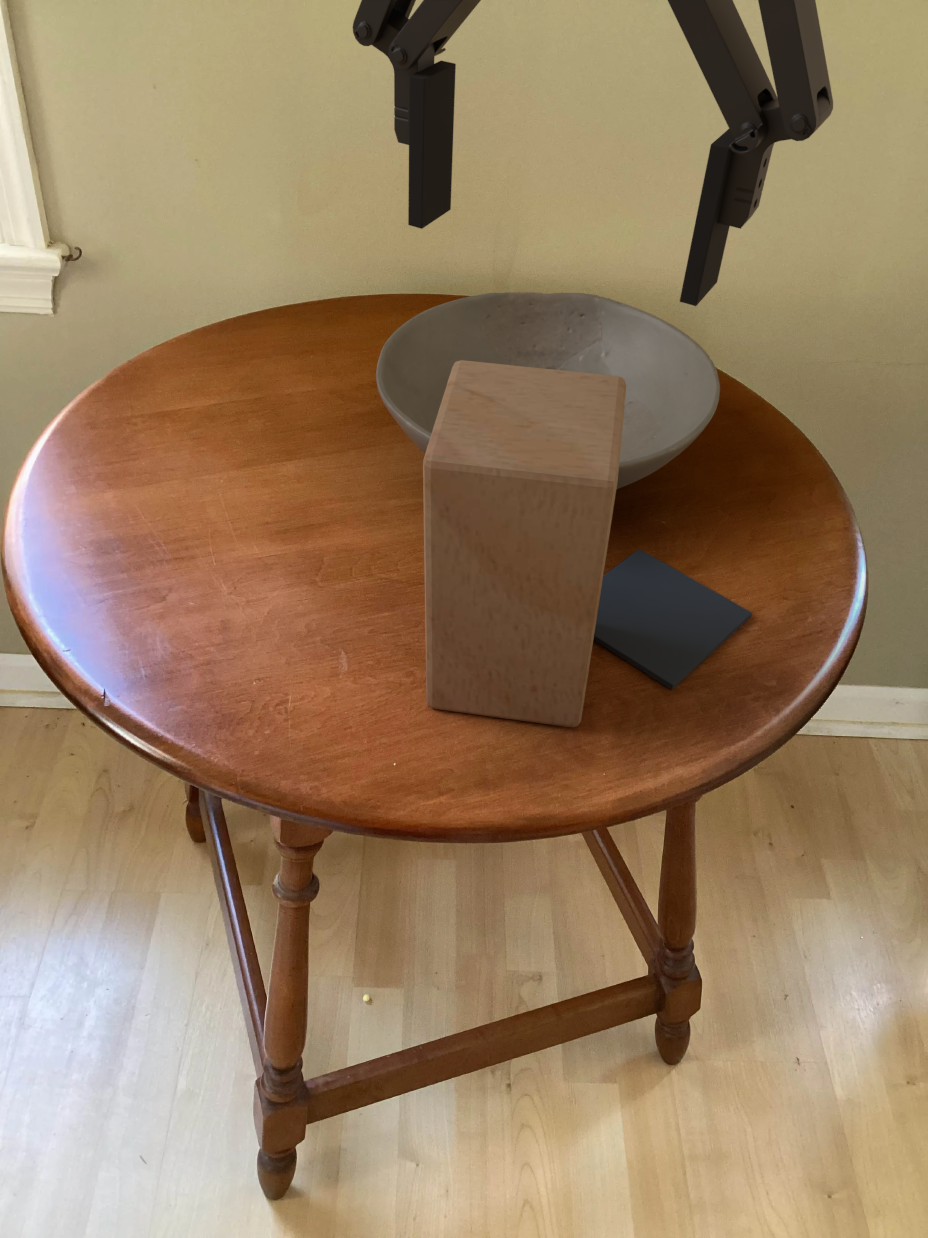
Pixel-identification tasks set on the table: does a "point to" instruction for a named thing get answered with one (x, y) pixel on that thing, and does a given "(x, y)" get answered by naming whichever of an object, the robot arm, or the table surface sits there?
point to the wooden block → (517, 537)
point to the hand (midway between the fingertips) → (557, 253)
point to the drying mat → (662, 618)
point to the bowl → (558, 364)
